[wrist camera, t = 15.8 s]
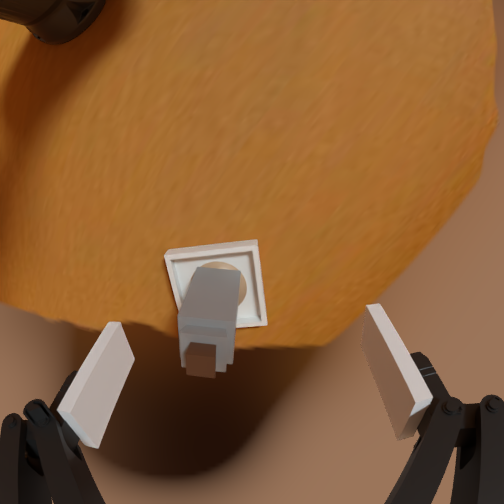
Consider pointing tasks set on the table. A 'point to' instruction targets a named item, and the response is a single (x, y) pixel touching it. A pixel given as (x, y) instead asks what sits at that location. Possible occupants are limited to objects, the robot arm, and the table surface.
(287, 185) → the table surface
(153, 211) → the table surface
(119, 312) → the table surface
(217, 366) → the perfume bottle
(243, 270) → the tray
